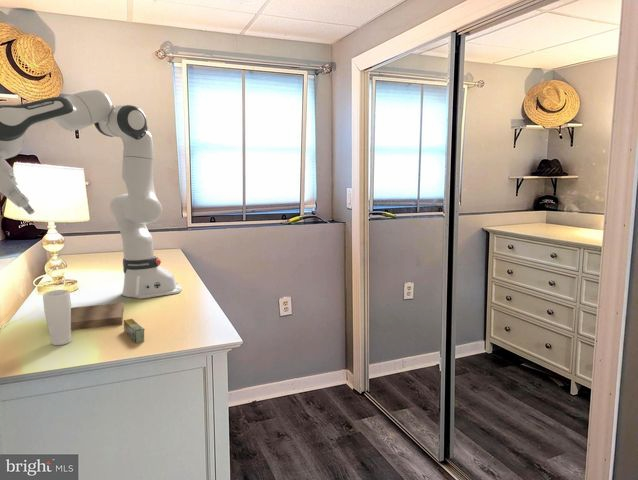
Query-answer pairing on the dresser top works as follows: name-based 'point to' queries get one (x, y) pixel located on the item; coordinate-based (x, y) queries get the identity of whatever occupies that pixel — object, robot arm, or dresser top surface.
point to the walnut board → (96, 316)
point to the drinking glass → (58, 316)
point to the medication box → (134, 330)
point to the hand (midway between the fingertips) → (28, 209)
